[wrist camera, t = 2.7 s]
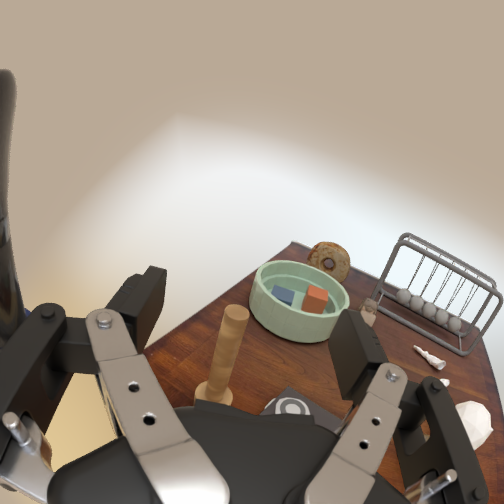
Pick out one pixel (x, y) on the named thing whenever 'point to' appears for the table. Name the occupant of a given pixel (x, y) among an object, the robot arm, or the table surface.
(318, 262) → the bagel
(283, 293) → the block slate
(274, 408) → the electronic device
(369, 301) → the toy character
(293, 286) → the bowl
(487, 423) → the perfume bottle
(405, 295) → the newton's cradle
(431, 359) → the sculpted arms
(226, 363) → the cylinder
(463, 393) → the table surface
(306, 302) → the block terracotta
